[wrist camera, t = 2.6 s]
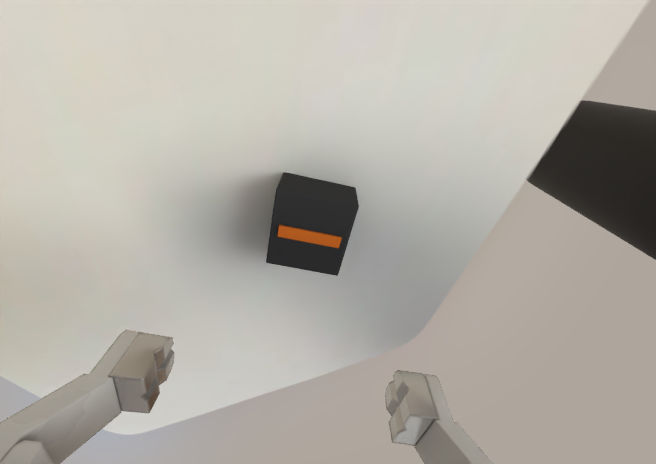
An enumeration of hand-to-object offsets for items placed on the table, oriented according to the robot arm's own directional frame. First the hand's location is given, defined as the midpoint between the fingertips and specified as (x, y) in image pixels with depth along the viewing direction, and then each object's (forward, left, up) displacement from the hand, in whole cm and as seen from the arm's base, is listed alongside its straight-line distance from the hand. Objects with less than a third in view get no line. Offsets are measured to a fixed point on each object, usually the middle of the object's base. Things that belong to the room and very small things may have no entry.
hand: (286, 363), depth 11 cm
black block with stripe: (0, 0, -12) cm, 12 cm away
